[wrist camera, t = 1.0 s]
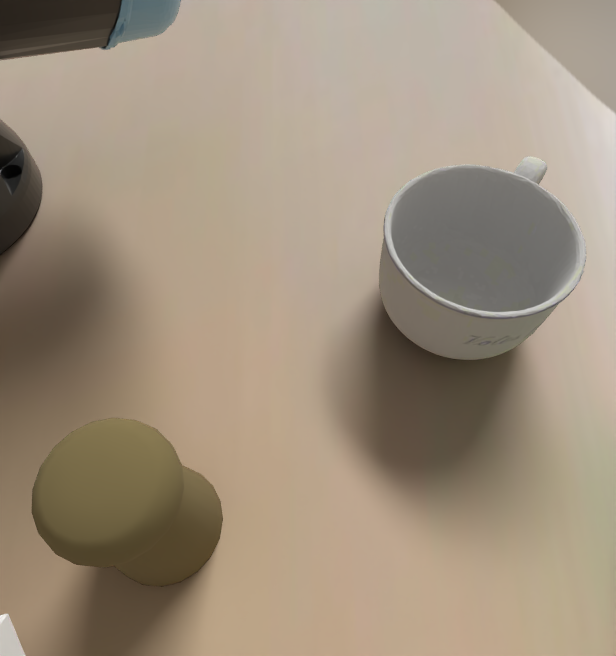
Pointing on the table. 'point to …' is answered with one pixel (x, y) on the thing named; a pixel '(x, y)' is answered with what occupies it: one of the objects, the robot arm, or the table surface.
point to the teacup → (477, 258)
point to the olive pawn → (126, 503)
